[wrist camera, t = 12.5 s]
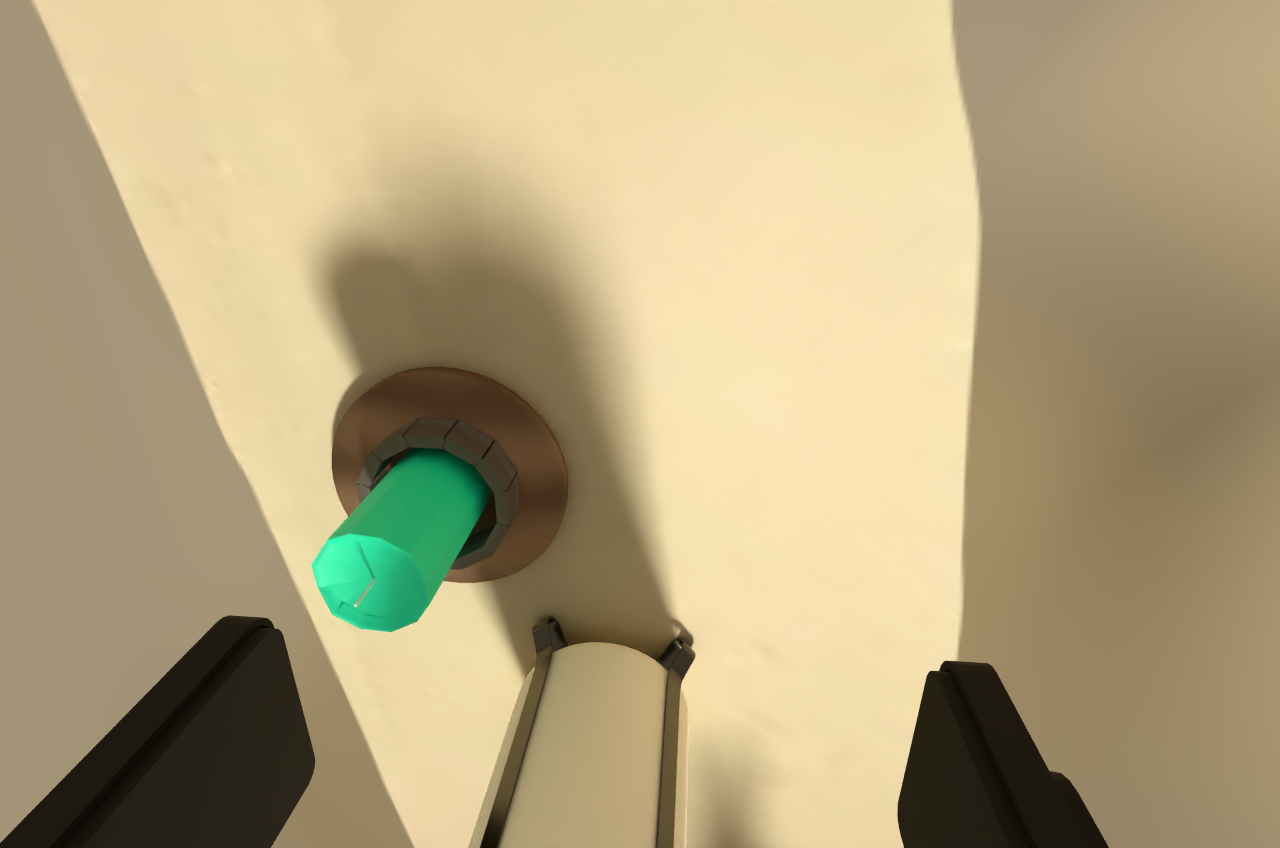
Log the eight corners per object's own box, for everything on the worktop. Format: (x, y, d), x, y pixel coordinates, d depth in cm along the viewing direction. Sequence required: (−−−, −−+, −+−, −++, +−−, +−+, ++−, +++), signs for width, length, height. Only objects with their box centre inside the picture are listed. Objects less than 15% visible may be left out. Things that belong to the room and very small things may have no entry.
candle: (476, 434, 41) (394, 545, 30) (501, 518, 44) (434, 650, 33) (385, 446, 42) (273, 559, 31) (414, 528, 44) (320, 660, 34)
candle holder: (319, 363, 41) (287, 383, 38) (563, 371, 40) (551, 392, 37) (359, 567, 47) (334, 599, 44) (572, 579, 46) (562, 613, 43)
